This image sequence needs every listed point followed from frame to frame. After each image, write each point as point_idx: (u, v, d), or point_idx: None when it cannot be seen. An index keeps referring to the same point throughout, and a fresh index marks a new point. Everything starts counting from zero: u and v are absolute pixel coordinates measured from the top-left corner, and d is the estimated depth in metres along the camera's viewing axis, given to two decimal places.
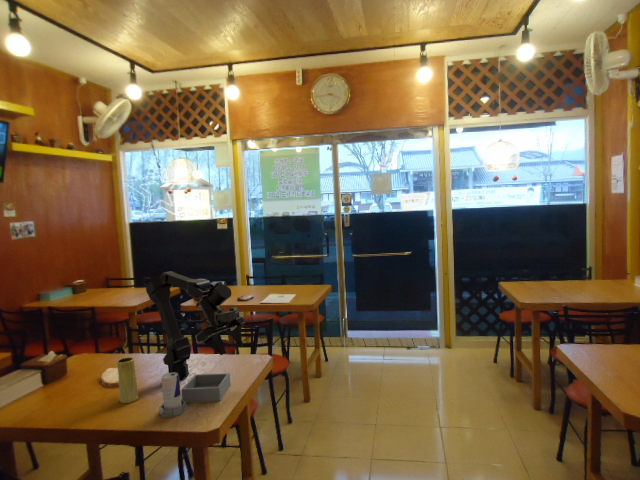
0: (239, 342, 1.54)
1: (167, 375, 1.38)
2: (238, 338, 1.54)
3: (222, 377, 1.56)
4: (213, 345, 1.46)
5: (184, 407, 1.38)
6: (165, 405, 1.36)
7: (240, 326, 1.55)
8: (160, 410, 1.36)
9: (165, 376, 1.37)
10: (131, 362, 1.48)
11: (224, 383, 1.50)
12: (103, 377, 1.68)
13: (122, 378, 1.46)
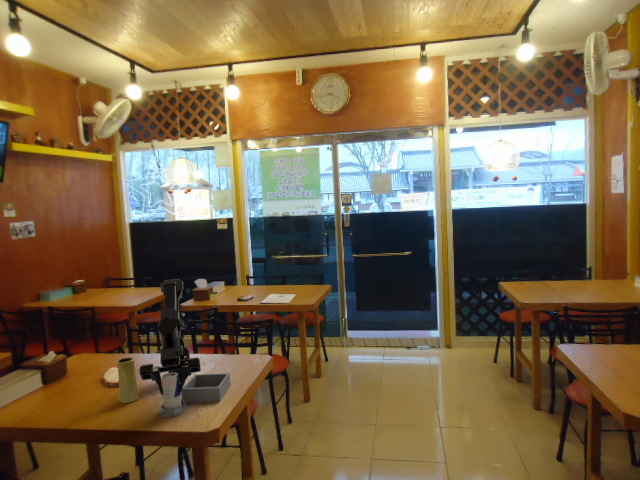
0: None
1: (167, 375, 1.38)
2: (180, 382, 1.39)
3: (222, 377, 1.56)
4: (158, 383, 1.38)
5: (184, 407, 1.38)
6: (165, 405, 1.36)
7: (184, 368, 1.40)
8: (160, 410, 1.36)
9: (165, 376, 1.37)
10: (131, 362, 1.48)
11: (224, 383, 1.50)
12: (105, 376, 1.68)
13: (122, 378, 1.46)
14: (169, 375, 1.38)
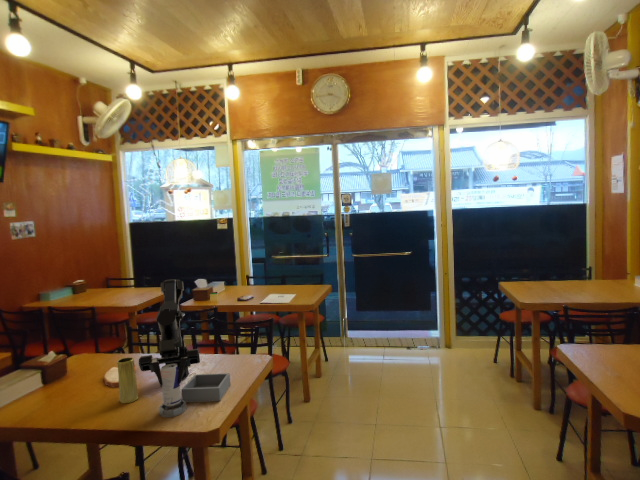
0: (179, 377, 1.38)
1: (167, 366, 1.38)
2: (179, 373, 1.39)
3: (222, 377, 1.56)
4: (157, 374, 1.38)
5: (184, 407, 1.38)
6: (164, 396, 1.36)
7: (183, 360, 1.40)
8: (160, 410, 1.36)
9: (164, 367, 1.37)
10: (131, 362, 1.48)
11: (224, 383, 1.50)
12: (106, 376, 1.68)
13: (122, 378, 1.46)
14: (168, 366, 1.38)
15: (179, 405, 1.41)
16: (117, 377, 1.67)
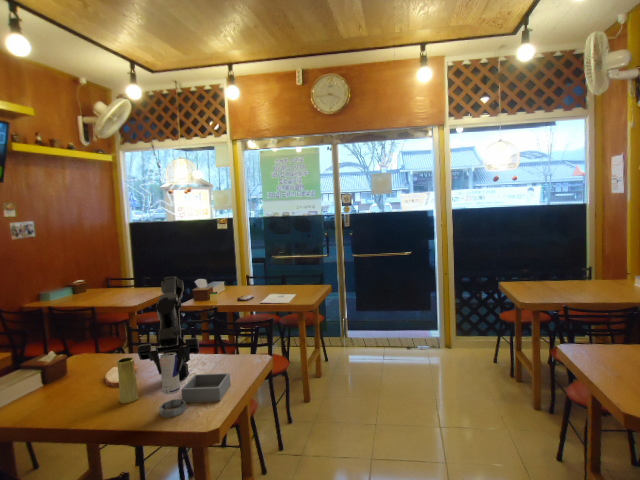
0: (178, 366, 1.38)
1: (166, 355, 1.38)
2: (178, 361, 1.38)
3: (222, 377, 1.56)
4: None
5: (184, 407, 1.38)
6: (163, 385, 1.35)
7: (182, 348, 1.39)
8: (160, 410, 1.36)
9: (163, 356, 1.37)
10: (131, 362, 1.48)
11: (224, 383, 1.50)
12: (107, 376, 1.68)
13: (122, 378, 1.46)
14: (167, 355, 1.38)
15: (179, 405, 1.41)
16: (118, 377, 1.67)
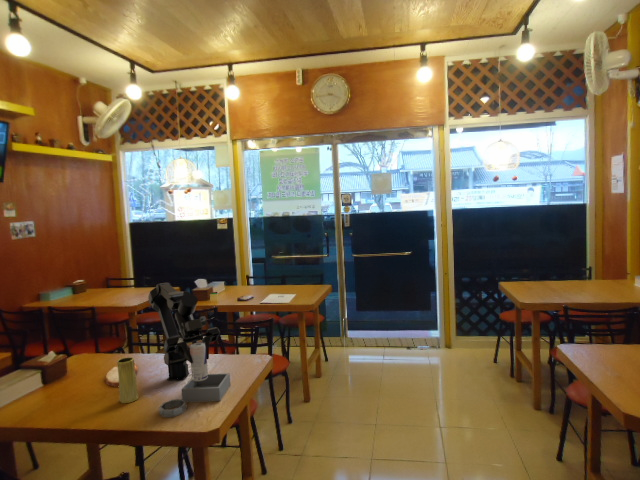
0: (206, 354, 1.48)
1: (194, 345, 1.47)
2: None
3: (222, 377, 1.56)
4: (184, 353, 1.46)
5: (184, 407, 1.38)
6: (195, 372, 1.45)
7: (208, 337, 1.50)
8: (160, 410, 1.36)
9: (193, 346, 1.46)
10: (131, 362, 1.48)
11: (224, 383, 1.50)
12: (108, 376, 1.69)
13: (122, 378, 1.46)
14: (196, 345, 1.47)
15: (179, 405, 1.41)
16: (118, 377, 1.67)
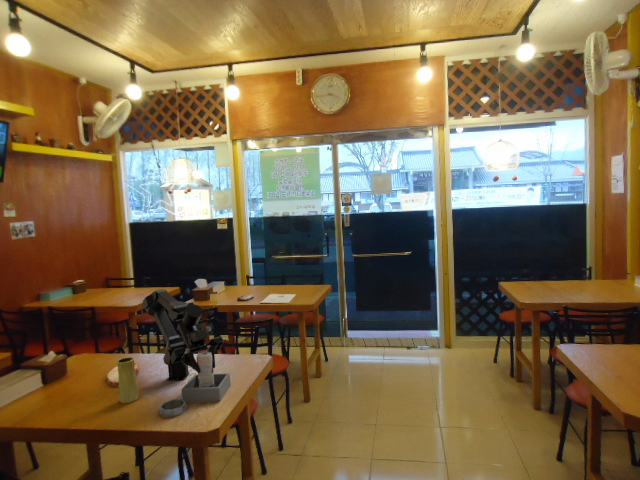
0: None
1: (200, 354, 1.50)
2: None
3: (222, 377, 1.56)
4: (191, 363, 1.49)
5: (184, 407, 1.38)
6: (203, 382, 1.48)
7: (213, 347, 1.54)
8: (160, 410, 1.36)
9: (200, 355, 1.49)
10: (131, 362, 1.48)
11: (224, 383, 1.50)
12: (109, 376, 1.69)
13: (122, 378, 1.46)
14: (202, 354, 1.50)
15: (179, 405, 1.41)
16: None
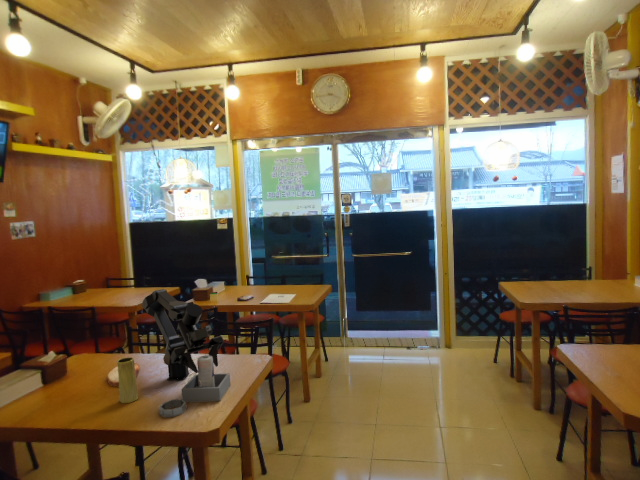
0: (214, 361, 1.52)
1: (201, 358, 1.50)
2: (214, 358, 1.53)
3: (222, 377, 1.56)
4: (188, 364, 1.48)
5: (184, 407, 1.38)
6: (203, 385, 1.48)
7: (215, 345, 1.54)
8: (160, 410, 1.36)
9: (201, 359, 1.49)
10: (131, 362, 1.48)
11: (224, 383, 1.50)
12: (109, 376, 1.69)
13: (122, 378, 1.46)
14: (203, 358, 1.50)
15: (179, 405, 1.41)
16: None
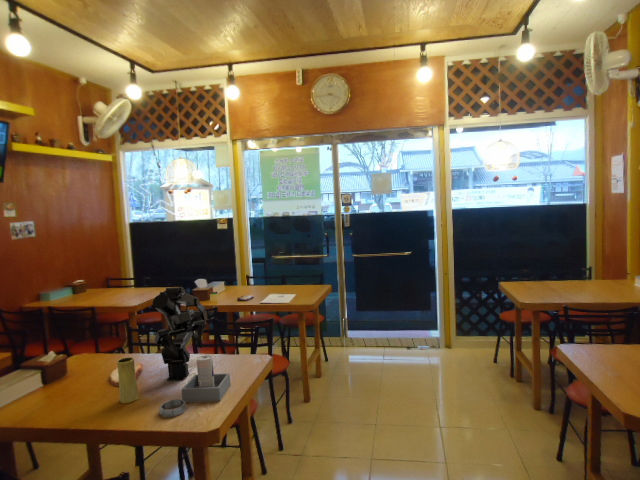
0: (199, 343, 1.60)
1: (201, 358, 1.50)
2: (198, 340, 1.61)
3: (222, 377, 1.56)
4: (170, 346, 1.55)
5: (184, 407, 1.38)
6: (203, 385, 1.48)
7: (200, 328, 1.62)
8: (160, 410, 1.36)
9: (200, 359, 1.49)
10: (131, 362, 1.48)
11: (224, 383, 1.50)
12: (112, 375, 1.69)
13: (122, 378, 1.46)
14: (202, 358, 1.50)
15: (179, 405, 1.41)
16: None
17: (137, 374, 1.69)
